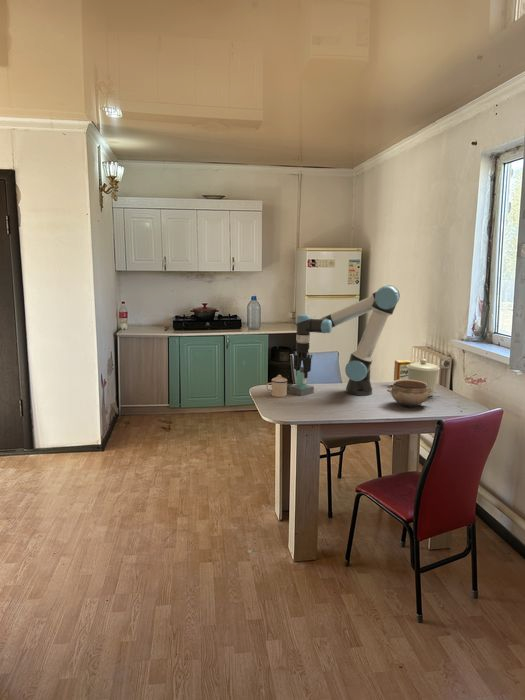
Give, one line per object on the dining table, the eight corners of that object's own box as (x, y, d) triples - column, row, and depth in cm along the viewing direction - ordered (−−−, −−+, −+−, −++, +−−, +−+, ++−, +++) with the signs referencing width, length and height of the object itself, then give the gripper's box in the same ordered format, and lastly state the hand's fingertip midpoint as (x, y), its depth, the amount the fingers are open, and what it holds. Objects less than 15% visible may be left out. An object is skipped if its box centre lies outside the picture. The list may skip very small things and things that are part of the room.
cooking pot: (393, 411, 264) (394, 387, 262) (379, 401, 282) (381, 379, 280) (439, 409, 267) (441, 386, 265) (422, 400, 286) (424, 378, 284)
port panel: (313, 393, 296) (313, 386, 296) (301, 396, 290) (301, 389, 290) (301, 389, 304) (301, 383, 303) (288, 392, 298) (289, 385, 297)
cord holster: (298, 390, 304) (298, 385, 303) (289, 391, 299) (289, 387, 299) (290, 387, 309) (290, 383, 309) (281, 389, 305) (281, 385, 304)
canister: (443, 395, 297) (446, 359, 293) (426, 400, 285) (429, 363, 281) (416, 389, 310) (418, 354, 306) (398, 394, 298) (400, 358, 295)
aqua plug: (306, 390, 297) (307, 367, 294) (301, 391, 294) (301, 368, 292) (301, 389, 300) (302, 366, 297) (296, 390, 297) (297, 367, 295)
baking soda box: (396, 387, 314) (398, 361, 311) (393, 385, 320) (394, 359, 318) (412, 387, 315) (413, 361, 312) (408, 385, 321) (410, 359, 318)
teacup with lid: (285, 393, 296) (285, 373, 294) (288, 397, 287) (289, 376, 285) (264, 393, 294) (265, 373, 292) (267, 397, 285) (267, 377, 283)
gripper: (287, 340, 296) (286, 380, 300) (308, 344, 283) (307, 386, 287) (297, 339, 301) (296, 379, 305) (318, 343, 288) (316, 384, 292)
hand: (301, 382), depth 296 cm, fingers closed on aqua plug, 4 cm apart
